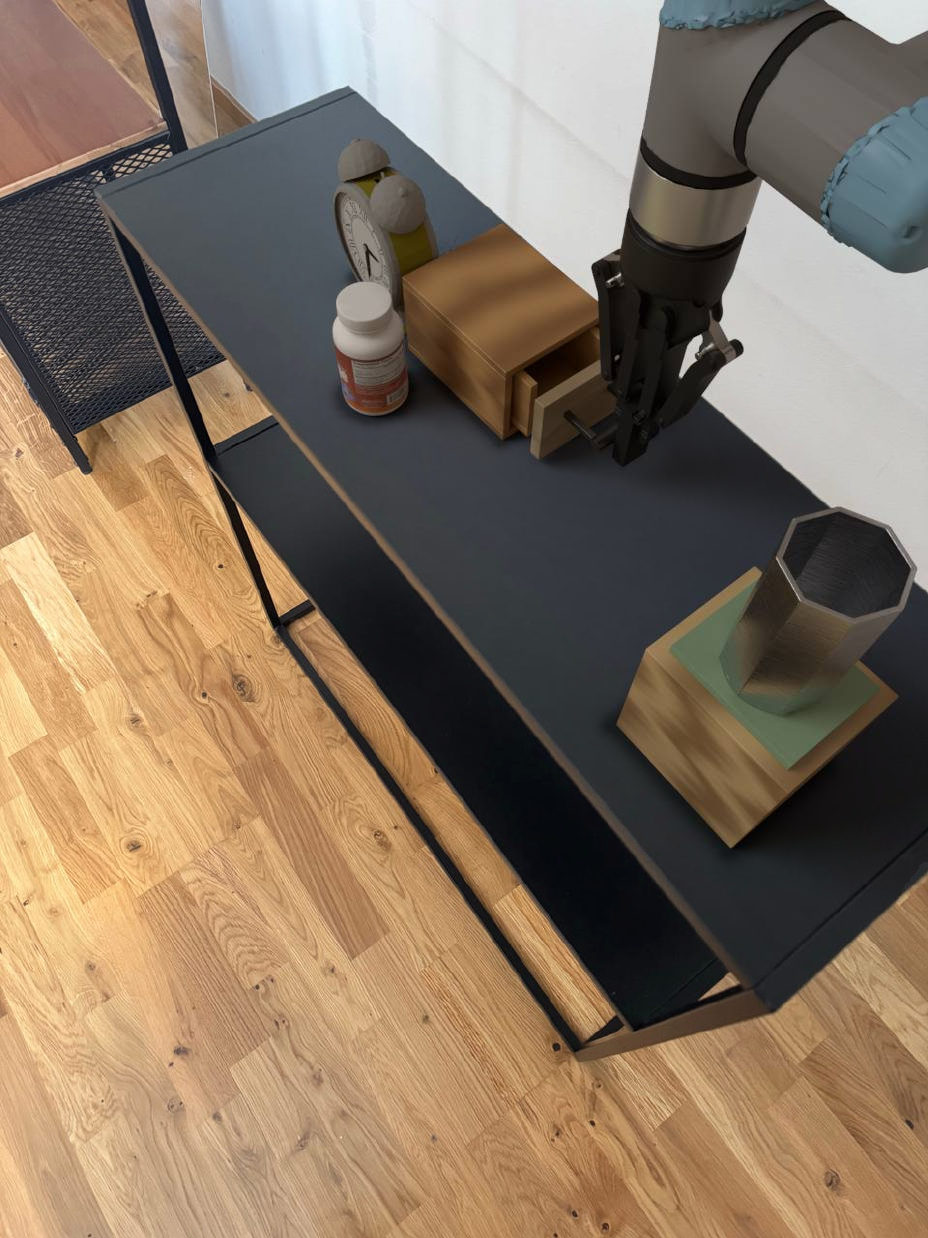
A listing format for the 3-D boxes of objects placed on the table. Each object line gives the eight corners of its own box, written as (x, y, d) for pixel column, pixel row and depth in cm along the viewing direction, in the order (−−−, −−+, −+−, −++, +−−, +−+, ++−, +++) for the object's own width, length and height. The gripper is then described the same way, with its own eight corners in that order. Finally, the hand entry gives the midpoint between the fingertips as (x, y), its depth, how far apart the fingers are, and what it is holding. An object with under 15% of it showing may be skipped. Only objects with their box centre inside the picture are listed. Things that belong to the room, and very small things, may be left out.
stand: (825, 765, 66) (899, 696, 54) (730, 849, 63) (788, 794, 51) (708, 651, 70) (755, 565, 59) (615, 724, 67) (645, 648, 56)
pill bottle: (346, 368, 85) (329, 274, 75) (410, 368, 85) (402, 274, 75) (341, 418, 82) (323, 326, 72) (407, 418, 82) (399, 327, 72)
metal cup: (839, 646, 55) (927, 540, 44) (808, 732, 52) (893, 640, 42) (741, 604, 56) (804, 491, 46) (706, 686, 54) (763, 586, 43)
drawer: (661, 436, 79) (677, 383, 73) (574, 495, 76) (583, 444, 70) (530, 321, 86) (534, 264, 80) (445, 371, 83) (444, 315, 77)
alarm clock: (341, 277, 91) (319, 137, 78) (398, 252, 92) (386, 111, 79) (399, 346, 86) (385, 211, 73) (458, 319, 88) (455, 182, 75)
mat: (876, 693, 54) (881, 688, 54) (787, 771, 52) (791, 766, 51) (755, 583, 58) (759, 577, 57) (668, 651, 56) (670, 645, 55)
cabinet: (597, 381, 84) (609, 310, 76) (502, 440, 80) (505, 372, 73) (500, 296, 89) (502, 222, 82) (407, 348, 86) (401, 276, 78)
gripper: (808, 243, 54) (714, 480, 74) (659, 138, 58) (609, 388, 79) (721, 297, 51) (649, 526, 72) (573, 184, 56) (545, 429, 77)
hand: (628, 454), depth 76 cm, fingers closed
